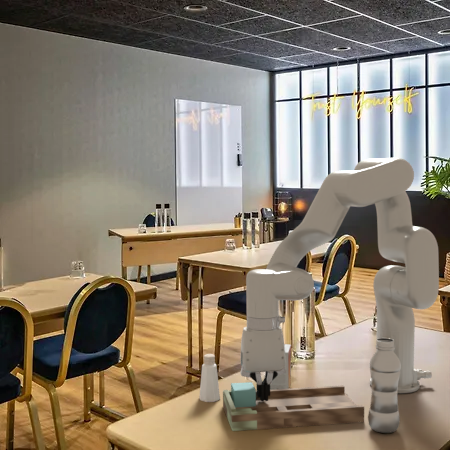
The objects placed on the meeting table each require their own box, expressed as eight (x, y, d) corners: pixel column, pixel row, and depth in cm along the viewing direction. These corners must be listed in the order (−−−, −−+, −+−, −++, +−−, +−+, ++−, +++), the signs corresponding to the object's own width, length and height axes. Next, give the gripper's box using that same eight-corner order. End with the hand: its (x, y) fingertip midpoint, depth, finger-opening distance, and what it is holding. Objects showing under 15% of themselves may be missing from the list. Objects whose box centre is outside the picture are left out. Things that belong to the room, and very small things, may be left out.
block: (251, 398, 146) (251, 382, 145) (255, 406, 141) (255, 389, 140) (231, 399, 145) (231, 383, 144) (234, 407, 140) (234, 390, 140)
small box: (288, 393, 154) (288, 352, 154) (266, 391, 156) (266, 351, 155) (291, 382, 162) (291, 344, 161) (270, 381, 163) (270, 343, 163)
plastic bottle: (363, 425, 135) (364, 336, 133) (393, 423, 135) (394, 335, 133) (373, 437, 128) (374, 344, 126) (404, 436, 129) (406, 343, 127)
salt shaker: (204, 403, 148) (204, 359, 147) (195, 396, 152) (194, 353, 151) (224, 399, 150) (224, 356, 149) (214, 393, 155) (214, 350, 154)
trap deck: (343, 399, 150) (343, 381, 150) (364, 421, 136) (364, 402, 136) (223, 406, 146) (222, 388, 145) (232, 431, 132) (232, 410, 132)
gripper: (289, 317, 146) (290, 391, 148) (228, 320, 144) (229, 395, 146) (298, 325, 139) (298, 402, 140) (233, 328, 137) (234, 407, 138)
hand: (263, 398), depth 143 cm, fingers closed
